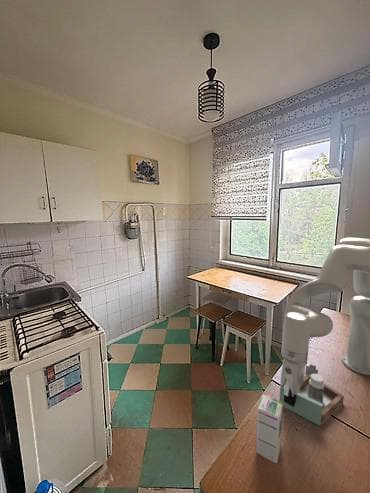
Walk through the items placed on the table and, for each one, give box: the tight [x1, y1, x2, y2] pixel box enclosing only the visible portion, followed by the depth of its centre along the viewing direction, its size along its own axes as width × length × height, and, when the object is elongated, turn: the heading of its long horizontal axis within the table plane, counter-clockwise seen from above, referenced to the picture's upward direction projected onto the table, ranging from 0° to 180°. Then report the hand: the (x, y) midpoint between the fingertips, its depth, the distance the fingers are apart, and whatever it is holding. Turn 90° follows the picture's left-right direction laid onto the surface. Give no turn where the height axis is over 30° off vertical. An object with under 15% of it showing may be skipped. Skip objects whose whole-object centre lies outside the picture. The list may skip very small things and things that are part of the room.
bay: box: [298, 374, 345, 425], centre depth 78 cm, size 14×12×3 cm
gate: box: [278, 385, 323, 427], centre depth 72 cm, size 12×1×7 cm, turn 50°
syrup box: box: [255, 394, 284, 464], centre depth 61 cm, size 6×6×14 cm
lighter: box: [305, 361, 319, 376], centre depth 90 cm, size 7×2×8 cm, turn 46°
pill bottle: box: [308, 373, 325, 403], centre depth 78 cm, size 5×5×8 cm
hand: (289, 402), depth 71 cm, fingers closed
